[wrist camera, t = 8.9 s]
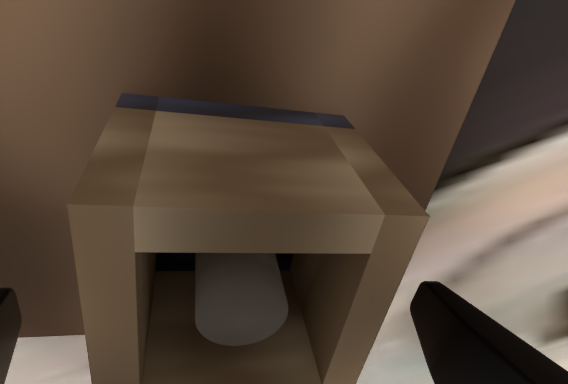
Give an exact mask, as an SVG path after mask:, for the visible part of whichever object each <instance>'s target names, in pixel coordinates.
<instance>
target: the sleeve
mask: <svg viewBox="0 0 568 384" xmlns="http://www.w3.org/2000/svg"><path fill="white" fill-rule="evenodd" d="M67 207H68V215H69V222H70V229H71V236H72V244H73V251H74V258H75V265H76V272H77V280H78V287H79V294H80V301H81V309H82V316H83V323H84V330H85V337H86V345H87V352H88V359H89V366H90V374H91V381H92V384H356V382H357V380H358V377H359V375H360V373H361V371H362V368H363V366H364V364H365V362H366V359H367V357H368V355H369V353H370V350H371V348H372V346H373V343H374V341H375V339H376V337H377V334H378V332H379V330H380V328H381V325H382V323H383V321H384V319H385V316H386V314H387V312H388V310H389V307H390V305H391V303H392V300H393V298H394V296H395V294H396V291H397V289H398V287H399V285H400V282H401V280H402V278H403V276H404V273H405V271H406V269H407V267H408V264H409V262H410V260H411V257H412V255H413V253H414V251H415V248H416V246H417V244H418V242H419V239H420V237H421V235H422V233H423V230H424V228H425V226H426V224H427V221H428V219H429V217H430V216H429V215H428V214H427V213H426V212H425V210H424V209H423V208H422V207H421V206H420V204H419V203H418V202H417V201H416V200H415V199H414V197H413V196H412V195H411V194H410V193H409V192H408V190H407V189H406V188H405V187H404V186H403V184H402V183H401V182H400V181H399V180H398V179H397V177H396V176H395V175H394V174H393V173H392V171H391V170H390V169H389V168H388V167H387V166H386V164H385V163H384V162H383V161H382V160H381V159H380V157H379V156H378V155H377V154H376V153H375V151H374V150H373V149H372V148H371V147H370V146H369V144H368V143H367V142H366V141H365V140H364V138H363V137H362V136H361V135H360V134H359V133H358V131H357V130H356V129H355V128H354V127H353V125H352V124H351V123H350V122H349V121H348V120H347V118H346V117H345V116H344V115H335V114H325V113H315V112H305V111H295V110H285V109H275V108H266V107H256V106H246V105H236V104H226V103H216V102H206V101H196V100H186V99H176V98H166V97H156V96H147V95H137V94H127V93H122V94H121V96H120V98H119V100H118V102H117V104H116V106H115V108H114V110H113V112H112V114H111V116H110V118H109V120H108V122H107V124H106V126H105V128H104V130H103V132H102V134H101V136H100V138H99V140H98V142H97V145H96V147H95V149H94V151H93V153H92V155H91V157H90V159H89V161H88V163H87V165H86V167H85V169H84V171H83V173H82V175H81V177H80V179H79V181H78V183H77V185H76V187H75V189H74V191H73V193H72V195H71V197H70V199H69V201H68V203H67ZM195 253H275V255H276V259H277V263H278V267H279V271H280V275H281V279H282V283H283V287H284V291H285V295H286V299H287V303H288V315H287V318H286V320H285V322H284V323H283V325H282V326H281V327H280V328H279V329H278V330H277V331H276V332H275V333H274V334H272V335H271V336H269V337H267V338H266V339H263V340H261V341H259V342H256V343H252V344H248V345H242V346H226V345H221V344H217V343H214V342H212V341H210V340H208V339H206V338H205V337H204V336H203V335H202V334H201V333H200V332H199V331H198V329H197V327H196V323H195Z"/></svg>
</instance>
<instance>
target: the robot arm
mask: <svg viewBox="0 0 568 384" xmlns="http://www.w3.org/2000/svg"><path fill="white" fill-rule="evenodd" d="M410 312H411V316H412V319H413V322H414V325H415V328H416V331H417V335H418V338H419V341H420V344H421V347H422V350H423V353H424V356H425V360H426V363H427V365H428V368H429V371H430V374H431V376H432V379H433V381H434V383H435V384H568V371H566V370H565V369H564V368H562V367H561V366H559V365H558V364H556V363H555V362H554V361H552V360H551V359H549V358H548V357H546V356H545V355H544V354H542V353H541V352H539V351H538V350H536V349H535V348H533V347H532V346H531V345H529V344H528V343H526V342H525V341H523V340H522V339H521V338H519V337H518V336H516V335H515V334H513V333H512V332H510V331H509V330H508V329H506V328H505V327H503V326H502V325H500V324H499V323H498V322H496V321H495V320H493V319H492V318H490V317H489V316H487V315H486V314H485V313H483V312H482V311H480V310H479V309H477V308H476V307H475V306H473V305H472V304H470V303H469V302H467V301H466V300H464V299H463V298H462V297H460V296H459V295H457V294H456V293H454V292H453V291H452V290H450V289H449V288H447V287H446V286H444V285H443V284H441V283H440V282H437V281H424V282H422V283H421V284H420V285H419V287H418V289H417V291H416V293H415V296H414V298H413V300H412V302H411V305H410ZM21 323H22V316H21V312H20V308H19V304H18V300H17V296H16V293H15V291H14V289H12V288H9V287H3V288H0V384H4V383H5V380H6V376H7V373H8V369H9V366H10V363H11V359H12V356H13V352H14V349H15V346H16V342H17V339H18V335H19V332H20V328H21Z"/></svg>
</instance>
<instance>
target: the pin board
mask: <svg viewBox="0 0 568 384" xmlns="http://www.w3.org/2000/svg"><path fill="white" fill-rule="evenodd" d="M514 3H515V0H0V288H3V287H9V288H12V289H14V291H15V293H16V296H17V300H18V304H19V308H20V312H21V316H22V323H21V328H20V332H19V335H18V337H42V336H65V335H85V330H84V323H83V316H82V309H81V301H80V294H79V287H78V280H77V272H76V265H75V258H74V251H73V244H72V236H71V229H70V222H69V215H68V207H67V203H68V201H69V199H70V197H71V195H72V193H73V191H74V189H75V187H76V185H77V183H78V181H79V179H80V177H81V175H82V173H83V171H84V169H85V167H86V165H87V163H88V161H89V159H90V157H91V155H92V153H93V151H94V149H95V147H96V145H97V142H98V140H99V138H100V136H101V134H102V132H103V130H104V128H105V126H106V124H107V122H108V120H109V118H110V116H111V114H112V112H113V110H114V108H115V106H116V104H117V102H118V100H119V98H120V96H121V94H122V93H127V94H137V95H147V96H156V97H166V98H176V99H186V100H196V101H206V102H216V103H226V104H236V105H246V106H256V107H266V108H275V109H285V110H295V111H305V112H315V113H325V114H335V115H344V116H345V117H346V118H347V120H348V121H349V122H350V123H351V124H352V125H353V127H354V128H355V129H356V130H357V131H358V133H359V134H360V135H361V136H362V137H363V138H364V140H365V141H366V142H367V143H368V144H369V146H370V147H371V148H372V149H373V150H374V151H375V153H376V154H377V155H378V156H379V157H380V159H381V160H382V161H383V162H384V163H385V164H386V166H387V167H388V168H389V169H390V170H391V171H392V173H393V174H394V175H395V176H396V177H397V179H398V180H399V181H400V182H401V183H402V184H403V186H404V187H405V188H406V189H407V190H408V192H409V193H410V194H411V195H412V196H413V197H414V199H415V200H416V201H417V202H418V203H419V204H420V206H421V207H422V208H423V209H424V210H426V208H427V205H428V203H429V201H430V198H431V196H432V194H433V191H434V189H435V187H436V184H437V182H438V180H439V177H440V175H441V173H442V170H443V168H444V166H445V163H446V161H447V159H448V156H449V154H450V152H451V149H452V147H453V145H454V142H455V140H456V138H457V135H458V133H459V131H460V128H461V126H462V124H463V122H464V119H465V117H466V115H467V112H468V110H469V108H470V105H471V103H472V101H473V98H474V96H475V94H476V91H477V89H478V87H479V84H480V82H481V80H482V77H483V75H484V73H485V70H486V68H487V66H488V63H489V61H490V59H491V56H492V54H493V52H494V49H495V47H496V45H497V42H498V40H499V38H500V35H501V33H502V31H503V28H504V26H505V24H506V21H507V19H508V17H509V14H510V12H511V10H512V7H513V5H514ZM287 315H288V303H287V299H286V295H285V291H284V287H283V283H282V279H281V275H280V271H279V267H278V263H277V259H276V255H275V253H195V323H196V327H197V329H198V331H199V332H200V333H201V334H202V335H203V336H204V337H205V338H206V339H208V340H210V341H212V342H214V343H217V344H221V345H226V346H242V345H248V344H252V343H256V342H259V341H261V340H263V339H266V338H267V337H269V336H271V335H272V334H274V333H275V332H276V331H277V330H278V329H279V328H280V327H281V326H282V325H283V323H284V322H285V320H286V318H287Z"/></svg>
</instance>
